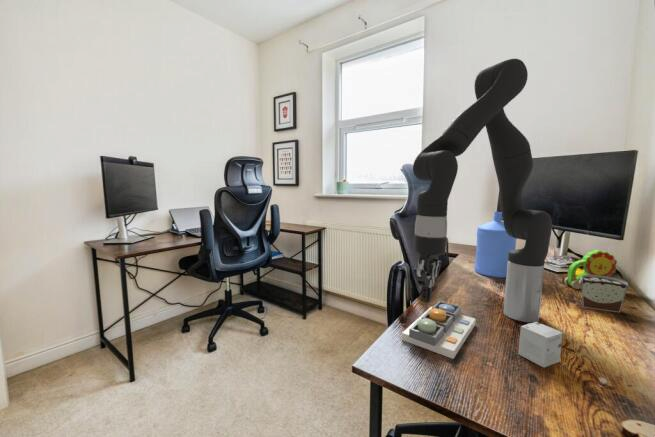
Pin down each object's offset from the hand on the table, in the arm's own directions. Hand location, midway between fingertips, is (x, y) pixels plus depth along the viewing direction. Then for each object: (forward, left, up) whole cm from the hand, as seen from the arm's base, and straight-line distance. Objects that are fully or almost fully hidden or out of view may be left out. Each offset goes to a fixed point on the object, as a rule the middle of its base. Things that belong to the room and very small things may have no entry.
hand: (426, 300), depth 74 cm
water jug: (-3, -77, -12) cm, 78 cm away
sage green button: (-1, 0, -8) cm, 8 cm away
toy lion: (-36, -80, -12) cm, 88 cm away
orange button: (-1, -8, -8) cm, 11 cm away
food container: (-37, -59, -12) cm, 70 cm away
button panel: (-2, -8, -12) cm, 14 cm away
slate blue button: (-1, -16, -9) cm, 18 cm away
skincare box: (-24, -11, -12) cm, 28 cm away
